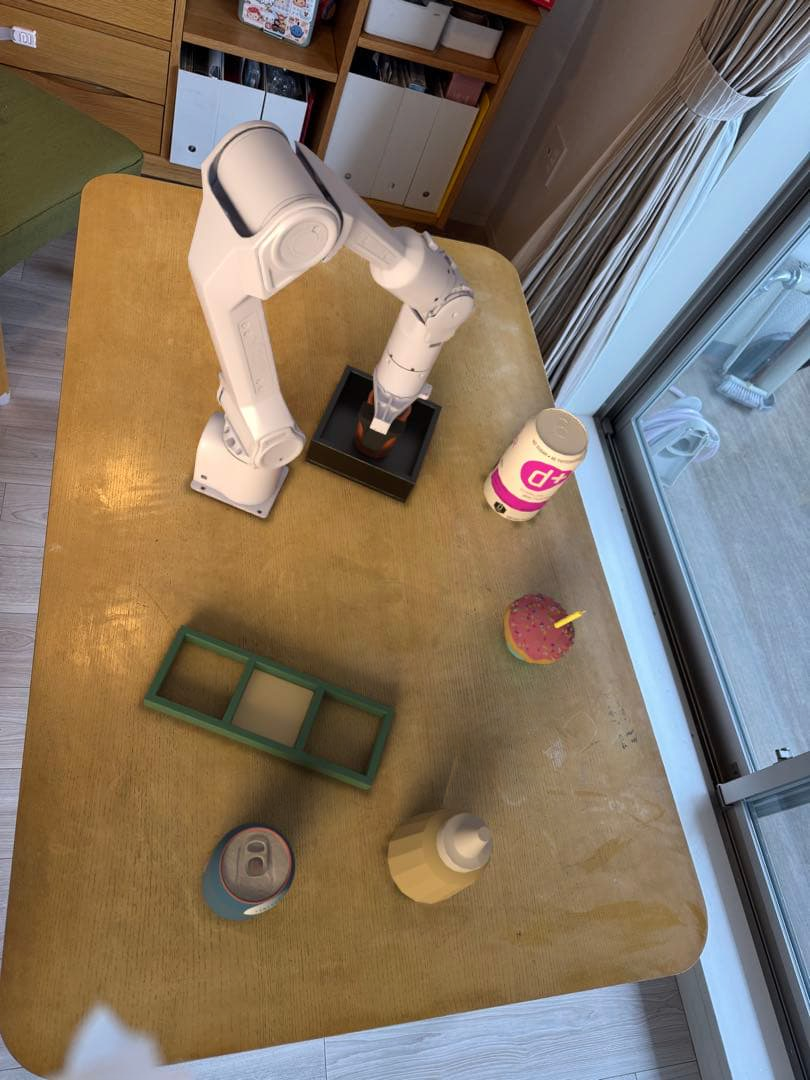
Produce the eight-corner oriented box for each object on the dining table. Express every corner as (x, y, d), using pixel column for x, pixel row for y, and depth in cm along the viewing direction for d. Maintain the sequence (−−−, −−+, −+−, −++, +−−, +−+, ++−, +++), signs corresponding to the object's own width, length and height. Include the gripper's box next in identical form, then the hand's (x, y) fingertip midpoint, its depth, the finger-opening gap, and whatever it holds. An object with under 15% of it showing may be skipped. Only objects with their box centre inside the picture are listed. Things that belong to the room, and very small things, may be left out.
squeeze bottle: (374, 821, 78) (432, 783, 63) (449, 818, 80) (522, 781, 65) (379, 909, 74) (442, 892, 59) (458, 904, 77) (537, 885, 62)
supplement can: (535, 531, 102) (591, 469, 90) (477, 511, 101) (526, 445, 88) (541, 483, 106) (595, 418, 94) (486, 463, 105) (533, 394, 93)
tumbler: (347, 447, 99) (363, 408, 92) (360, 417, 102) (376, 378, 95) (386, 464, 99) (404, 427, 93) (397, 434, 102) (416, 396, 96)
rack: (365, 791, 79) (371, 786, 77) (143, 706, 77) (143, 699, 75) (388, 715, 84) (395, 708, 82) (180, 633, 81) (181, 624, 79)
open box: (304, 460, 96) (311, 439, 93) (339, 386, 104) (347, 364, 100) (404, 503, 98) (415, 484, 94) (431, 427, 105) (442, 406, 102)
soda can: (275, 919, 71) (299, 909, 61) (198, 924, 69) (209, 915, 59) (276, 839, 74) (298, 817, 64) (202, 842, 72) (213, 820, 62)
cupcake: (561, 628, 96) (610, 587, 86) (546, 688, 91) (597, 652, 81) (499, 599, 95) (542, 554, 85) (481, 658, 91) (524, 618, 81)
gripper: (427, 411, 83) (391, 480, 94) (459, 325, 91) (422, 398, 102) (366, 384, 82) (338, 457, 93) (403, 300, 90) (373, 376, 101)
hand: (378, 424), depth 98 cm, fingers open, 7 cm apart
